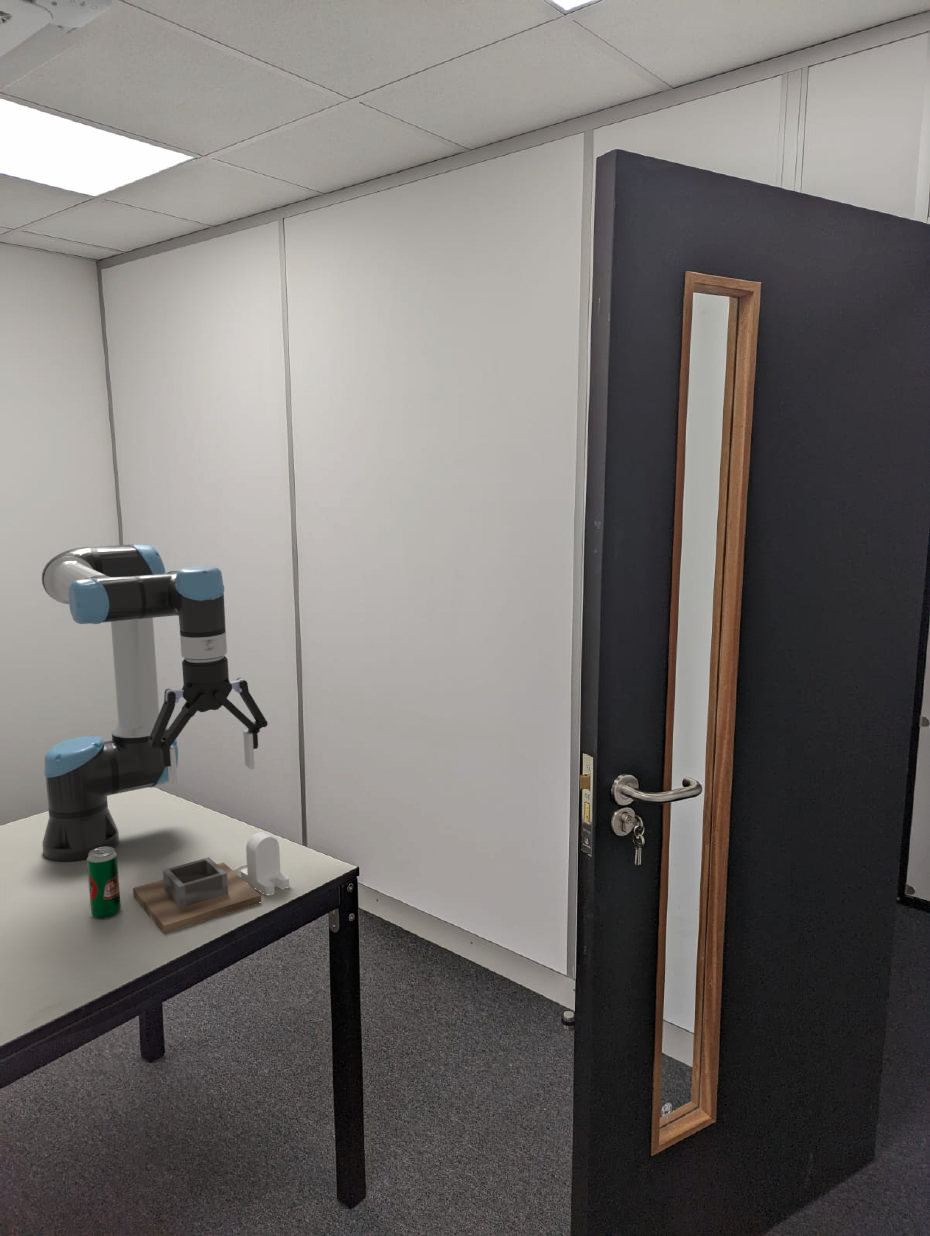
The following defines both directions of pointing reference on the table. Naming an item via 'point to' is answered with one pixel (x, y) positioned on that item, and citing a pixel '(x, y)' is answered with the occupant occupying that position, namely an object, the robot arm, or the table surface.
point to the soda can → (103, 882)
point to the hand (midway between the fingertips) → (212, 774)
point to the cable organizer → (263, 864)
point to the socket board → (194, 894)
